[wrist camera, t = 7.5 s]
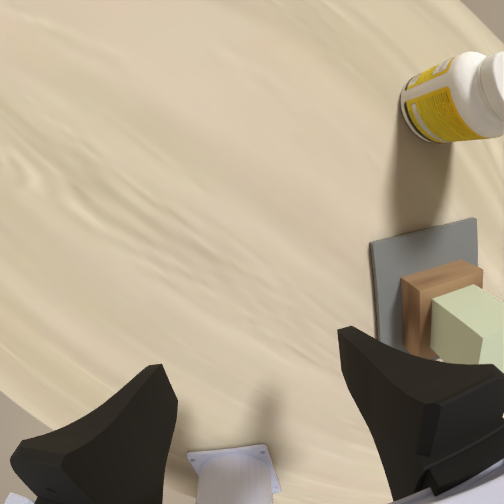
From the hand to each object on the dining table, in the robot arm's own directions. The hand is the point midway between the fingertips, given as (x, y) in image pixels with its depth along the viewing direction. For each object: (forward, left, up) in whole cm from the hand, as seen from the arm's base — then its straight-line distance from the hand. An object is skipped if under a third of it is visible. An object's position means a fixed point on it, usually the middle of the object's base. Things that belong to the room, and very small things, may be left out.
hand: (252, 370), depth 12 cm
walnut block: (-5, -14, -10) cm, 18 cm away
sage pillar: (-5, -14, -7) cm, 16 cm away
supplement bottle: (+10, -16, -11) cm, 22 cm away
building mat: (-5, -14, -10) cm, 18 cm away
